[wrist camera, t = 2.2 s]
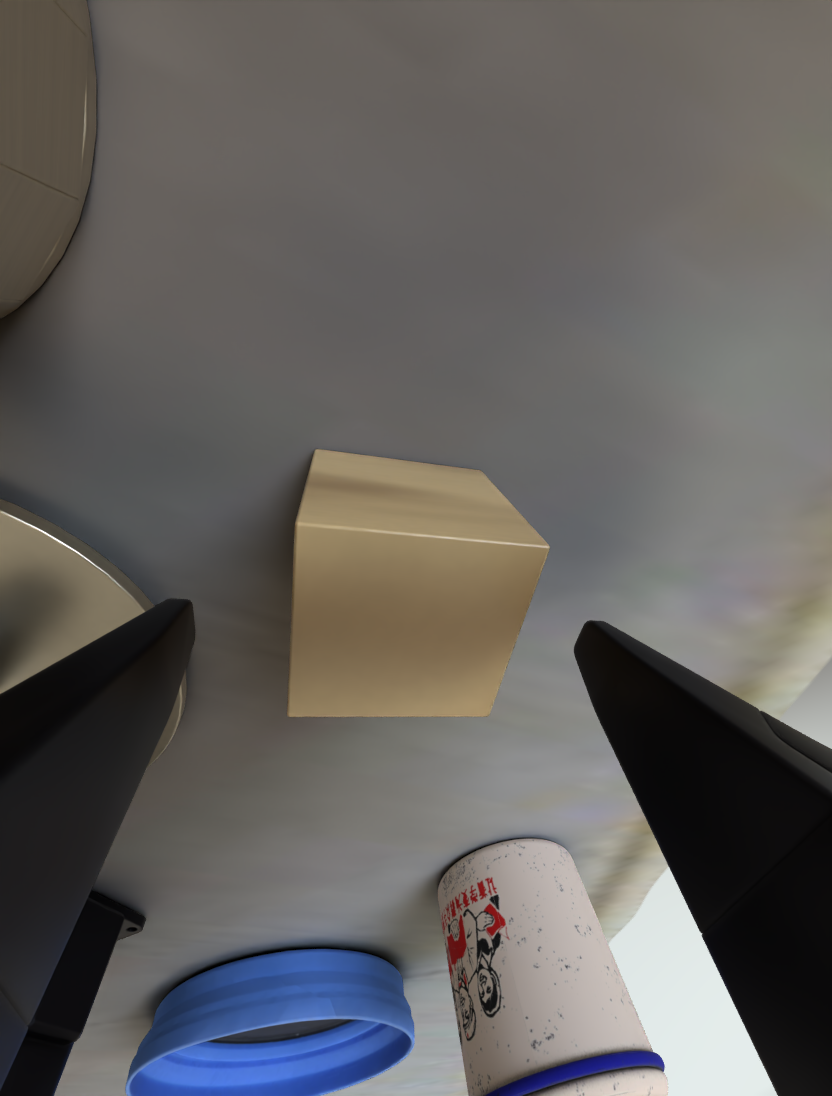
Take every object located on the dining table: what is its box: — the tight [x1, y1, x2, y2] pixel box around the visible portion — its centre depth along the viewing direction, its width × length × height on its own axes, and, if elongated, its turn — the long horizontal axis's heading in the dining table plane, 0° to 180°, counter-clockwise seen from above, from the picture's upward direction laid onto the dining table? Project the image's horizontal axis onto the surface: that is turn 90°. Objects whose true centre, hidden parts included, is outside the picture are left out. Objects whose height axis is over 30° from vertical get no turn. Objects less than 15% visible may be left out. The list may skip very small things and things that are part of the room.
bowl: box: [125, 949, 414, 1096], centre depth 28 cm, size 18×18×4 cm
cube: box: [287, 449, 550, 717], centre depth 11 cm, size 5×5×5 cm
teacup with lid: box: [438, 838, 668, 1096], centre depth 21 cm, size 12×9×12 cm
